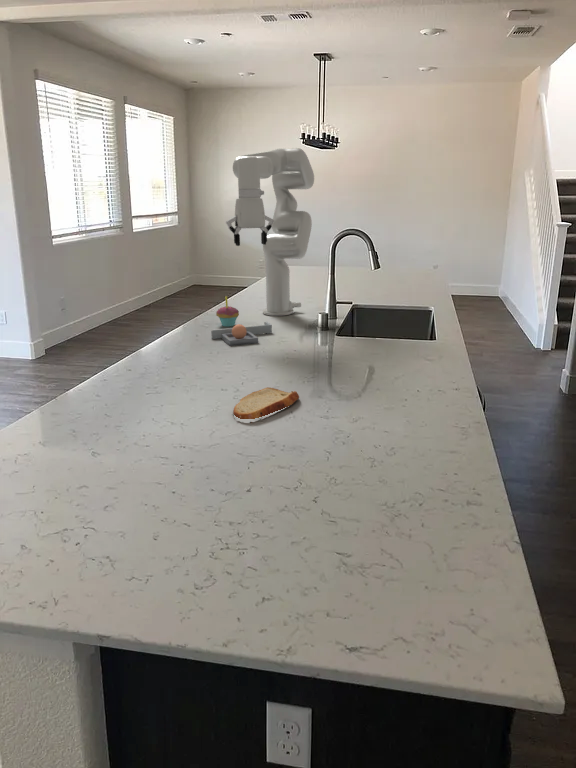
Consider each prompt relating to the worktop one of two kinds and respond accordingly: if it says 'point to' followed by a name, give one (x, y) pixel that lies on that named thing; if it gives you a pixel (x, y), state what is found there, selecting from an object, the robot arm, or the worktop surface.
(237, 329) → the ball
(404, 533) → the worktop surface
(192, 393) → the worktop surface
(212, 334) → the wall
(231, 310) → the cupcake
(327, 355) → the worktop surface
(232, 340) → the dish
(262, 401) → the bread slice
